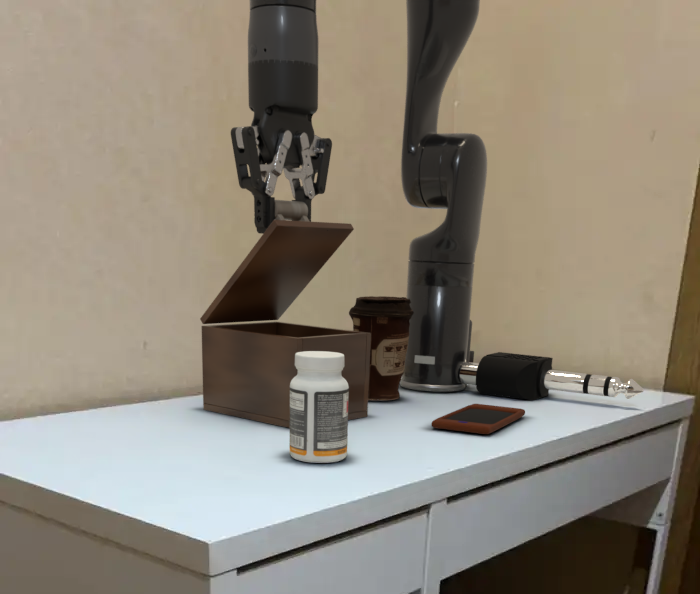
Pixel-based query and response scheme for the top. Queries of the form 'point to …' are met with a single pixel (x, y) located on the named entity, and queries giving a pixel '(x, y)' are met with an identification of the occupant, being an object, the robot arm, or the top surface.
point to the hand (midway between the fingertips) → (283, 233)
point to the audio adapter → (537, 378)
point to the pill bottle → (319, 408)
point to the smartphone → (478, 418)
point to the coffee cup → (384, 341)
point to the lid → (277, 266)
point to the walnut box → (275, 367)
